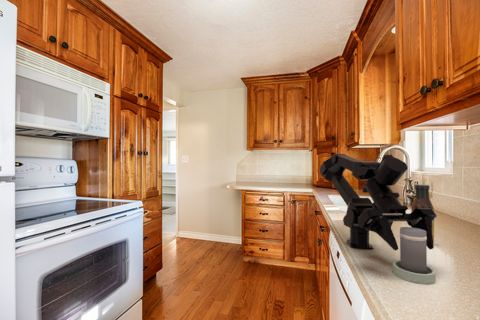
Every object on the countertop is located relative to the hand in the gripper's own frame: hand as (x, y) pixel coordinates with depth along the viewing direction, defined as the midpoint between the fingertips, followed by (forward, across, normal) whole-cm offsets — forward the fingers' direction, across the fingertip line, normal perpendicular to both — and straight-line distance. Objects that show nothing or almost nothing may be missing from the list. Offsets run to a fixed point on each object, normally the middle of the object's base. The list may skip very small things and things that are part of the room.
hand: (414, 249), depth 57 cm
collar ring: (+4, -1, -5) cm, 7 cm away
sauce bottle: (-11, -24, -21) cm, 34 cm away
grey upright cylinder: (+4, -1, -5) cm, 7 cm away
